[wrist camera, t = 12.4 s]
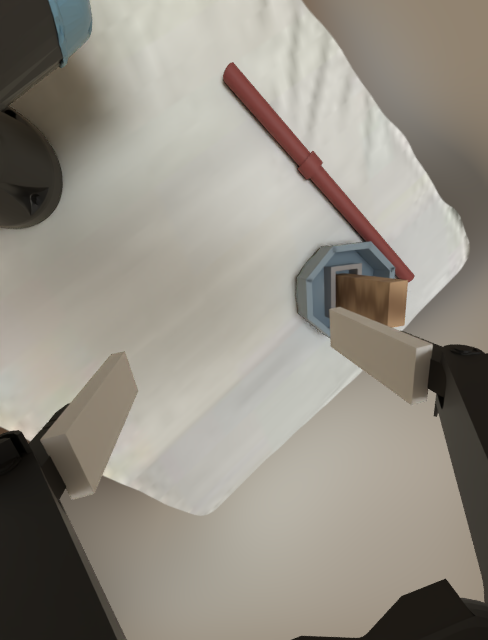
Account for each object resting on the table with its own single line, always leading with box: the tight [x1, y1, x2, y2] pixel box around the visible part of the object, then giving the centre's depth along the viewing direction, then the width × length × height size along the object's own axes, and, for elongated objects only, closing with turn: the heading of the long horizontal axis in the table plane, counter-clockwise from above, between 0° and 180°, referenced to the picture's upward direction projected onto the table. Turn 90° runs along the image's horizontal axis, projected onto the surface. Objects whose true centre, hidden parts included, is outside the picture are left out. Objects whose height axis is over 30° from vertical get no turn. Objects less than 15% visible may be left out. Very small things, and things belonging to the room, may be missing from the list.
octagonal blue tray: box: [296, 241, 395, 339], centre depth 42 cm, size 16×16×5 cm
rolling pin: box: [223, 62, 414, 282], centre depth 39 cm, size 45×3×3 cm, turn 50°
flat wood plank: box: [336, 273, 408, 328], centre depth 37 cm, size 6×2×14 cm, turn 6°
